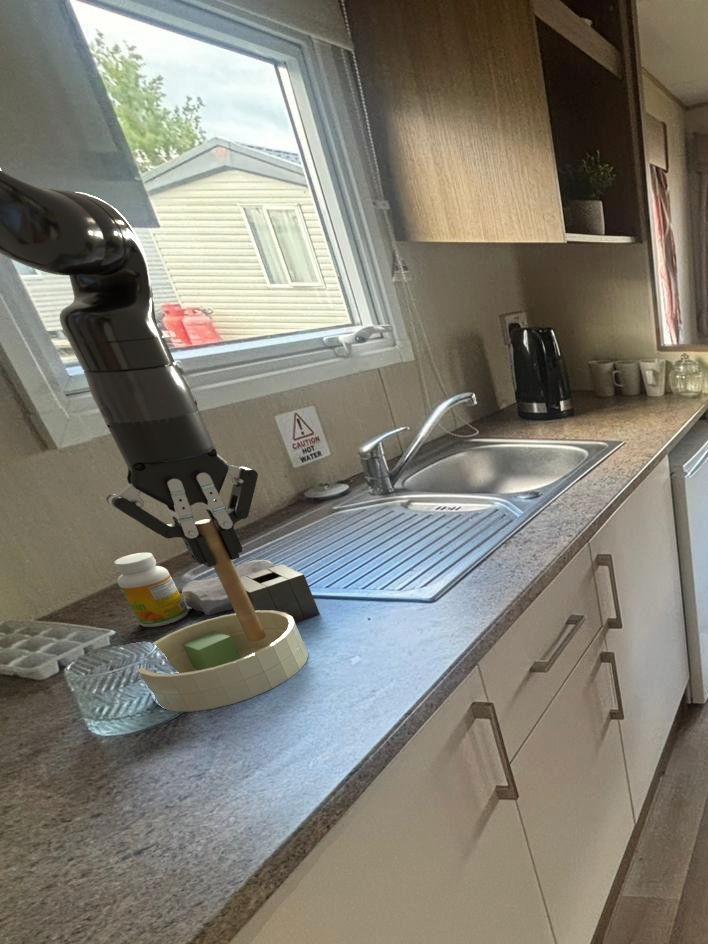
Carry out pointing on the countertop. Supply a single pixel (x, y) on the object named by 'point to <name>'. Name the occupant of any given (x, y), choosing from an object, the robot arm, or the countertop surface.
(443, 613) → the countertop surface
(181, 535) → the robot arm
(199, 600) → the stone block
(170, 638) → the bowl
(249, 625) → the stirrer
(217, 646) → the sage block
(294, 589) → the holder
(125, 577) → the supplement bottle
